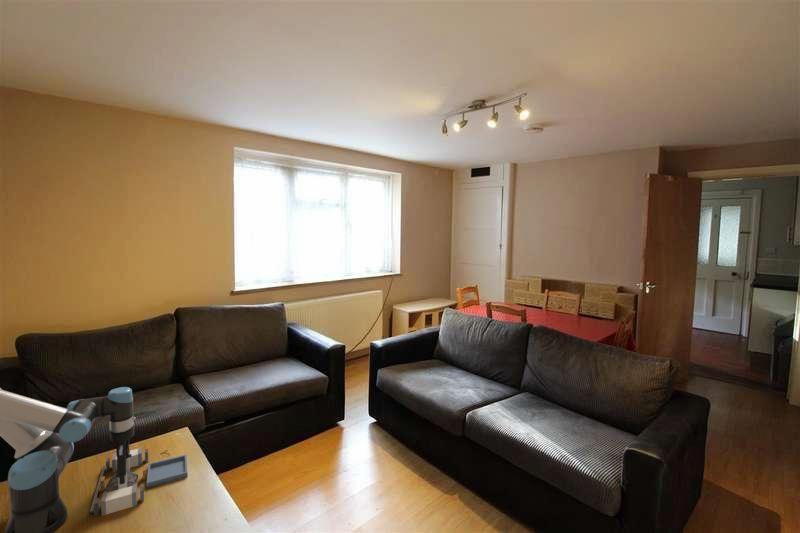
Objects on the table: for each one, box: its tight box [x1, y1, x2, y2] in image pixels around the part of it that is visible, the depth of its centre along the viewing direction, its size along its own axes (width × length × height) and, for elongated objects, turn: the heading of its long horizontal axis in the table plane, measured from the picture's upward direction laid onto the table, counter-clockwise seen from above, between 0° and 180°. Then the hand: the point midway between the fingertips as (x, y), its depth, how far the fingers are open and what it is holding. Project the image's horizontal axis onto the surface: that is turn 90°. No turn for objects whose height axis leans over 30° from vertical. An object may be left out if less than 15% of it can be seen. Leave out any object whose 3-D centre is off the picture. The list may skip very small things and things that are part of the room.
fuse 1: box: [111, 446, 144, 473], centre depth 159 cm, size 10×5×5 cm, turn 121°
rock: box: [104, 470, 139, 492], centre depth 146 cm, size 9×11×4 cm
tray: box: [146, 454, 189, 489], centre depth 155 cm, size 14×14×2 cm
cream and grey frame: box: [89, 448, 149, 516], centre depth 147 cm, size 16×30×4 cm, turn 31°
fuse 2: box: [100, 483, 139, 517], centre depth 136 cm, size 10×5×5 cm, turn 121°
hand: (124, 482), depth 147 cm, fingers open, 10 cm apart
